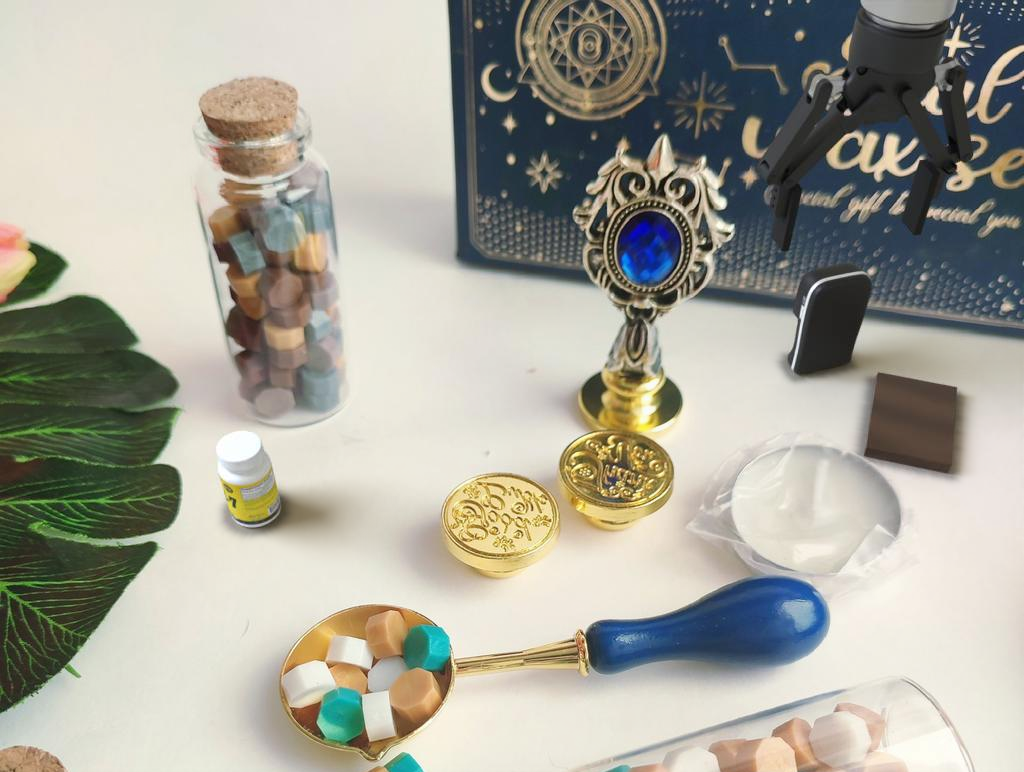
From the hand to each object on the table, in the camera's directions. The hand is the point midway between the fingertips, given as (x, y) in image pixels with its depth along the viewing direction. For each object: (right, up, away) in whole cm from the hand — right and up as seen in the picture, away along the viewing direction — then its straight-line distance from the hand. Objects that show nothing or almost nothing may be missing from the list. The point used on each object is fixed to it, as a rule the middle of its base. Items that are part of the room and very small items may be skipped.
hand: (845, 235), depth 105 cm
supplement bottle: (-56, -27, -4) cm, 63 cm away
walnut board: (+8, -18, +4) cm, 20 cm away
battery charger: (0, -11, +11) cm, 15 cm away
